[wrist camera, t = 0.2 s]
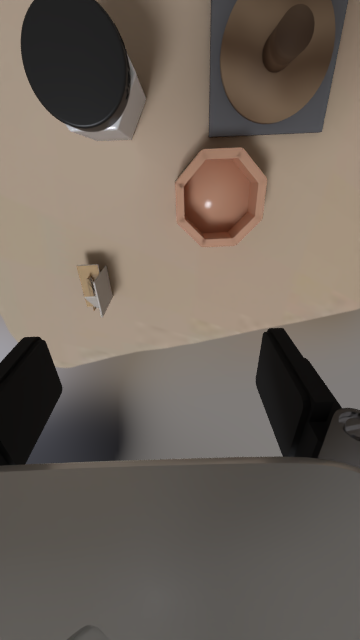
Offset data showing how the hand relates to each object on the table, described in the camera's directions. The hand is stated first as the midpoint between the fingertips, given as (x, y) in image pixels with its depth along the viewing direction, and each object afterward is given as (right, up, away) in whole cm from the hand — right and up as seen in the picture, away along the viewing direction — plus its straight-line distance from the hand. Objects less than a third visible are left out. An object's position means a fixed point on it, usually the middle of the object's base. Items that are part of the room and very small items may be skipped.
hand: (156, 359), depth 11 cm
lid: (+11, +31, +17) cm, 37 cm away
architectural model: (-12, +8, +31) cm, 34 cm away
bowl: (+6, +19, +25) cm, 32 cm away
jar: (-7, +28, +19) cm, 35 cm away
